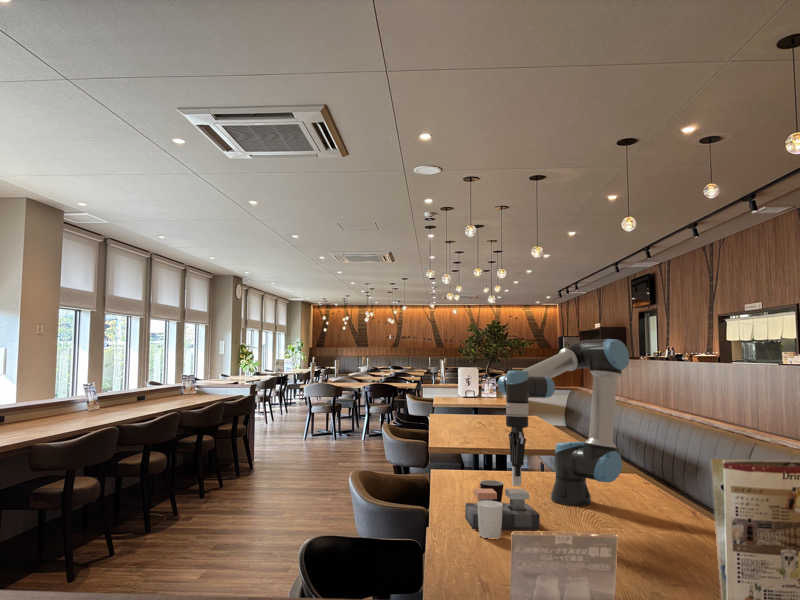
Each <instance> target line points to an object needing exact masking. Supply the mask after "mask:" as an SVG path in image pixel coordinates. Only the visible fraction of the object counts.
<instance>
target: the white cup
mask: <svg viewBox="0 0 800 600" xmlns="http://www.w3.org/2000/svg"><path fill="white" fill-rule="evenodd" d="M476 503H477V504H478V527H479V530H478V536H479V535H480V536H481V537H485V538H499V537H502V530H501V528H502V510H503V504H502V503H503V502H501V503H500V502H496V501H479V502H476ZM480 536H479V537H480ZM481 537H480V538H481ZM499 539H500V538H499Z"/></svg>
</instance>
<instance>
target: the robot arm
mask: <svg viewBox="0 0 800 600" xmlns="http://www.w3.org/2000/svg"><path fill="white" fill-rule="evenodd" d="M629 362H630V354H629V351H628V347H626V344H625V343H624V342H623V341H621V340H620V339H614V338H613V339H611V338H603V339H602V338H601V339H597V338H596V339H584V340H580V341H578V342H575V343H573V344H571V345H568V346H566V347H564V348H562V349H560V350H559V352H558V353H557V354H555V355H552V356H551V357H548V358H546V359H544V360H542V361H539V362H537V363H535V364H533V365H531V366H528V367H527V368H524V369H522V370H508V371H507V372H506V374H504V375H501V376H500V377H499V378H498V380H497V389H498V392H500V393H501V394H502V395H506V396H505V397H506V398H505V399H506V405H504V409H505V408H506V410H505V411H506V412H505V413H506V414H507V415H506V416H505V425H506V427H507V428H508V427H509V428H511V429H510V432H509V433H508V440H509V459H510V460H509V461H510V463H511V470H512V472H511V479H512V480H511V486H512V487H522V466H524V462H525V461H524V460H525V448H526V441H527V438H526V437H525V433H524V429H525V428H526V429H527V428H528V427H529V417H528V415H529V399H534V398H535V399H539V398H540V399H545V398H551V397H552V396H553V395H554V394H555V392H556V389H555V388H556V384H555V382H554V380H553V378H555V377H557V376H560V375H561V374H563V373H565V372H573V371H575V370H578V369H589V373H590V374H591V375H592V377H593V379H592V380H593V381H592V390H591V391H592V393H591V407H590V418H589V419H590V420H589V432H588V433H589V434H588V439H586V440H585V441H566V442H565V441H564V442H558V443H556V445H555V451H554V456H555V457H554V465H555V467H554V468H555V470H554V471H555V481H554V485H553V488H552V491H551V493H550V495H551V496H550V500H551V501H552V502H554V503H557V504H561V505H564V506H565V505H566V506H572V507H573V506H578V507H579V506H580V507H581V506H583V507H584V506H589V505H590V504H592V497H591V493H590V491H589V488H588V484H587V479H589V480H592V481H597V482H598V483H600V482H601V483H603V482H604V483H613V482H614V481H616V480H617V479H618V478H619V477H620V474H621V472H622V469H623V459H622V457H621V454H620V453H618V452H617V446H616V444H615V443H614V441H613V439H614V427H615V426H614V424H615V411H616V410H615V408H616V398H617V397H616V395H617V383H618V382H617V381H618V378H620V377H621V376H622V371H623V370H625V369H626V368H627V367H628V365H629Z"/></svg>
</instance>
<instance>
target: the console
mask: <svg viewBox="0 0 800 600" xmlns="http://www.w3.org/2000/svg"><path fill="white" fill-rule="evenodd" d="M477 503H478V502H465V504H464V505H465V507H464V509H465V511H464V512H465V514H464V515H465V516H464V518H465V520H466V521H467V523H468V524H469V526H470V527H471V529H472V530H473V529H479V527H478V504H477ZM501 503H502V504H503V510H502V528H501V531H540V530H541V527H540V525H541V523H540V522H541V519H540V517H541V516H540V513H539V512H538V511H537V510H535V509H534V508H533V507H532V506H530V504H528V503H527V502H526V503H525V511H513V510H512V509H511V508H510V502H508V503H507V502H505V503H503V502H501Z"/></svg>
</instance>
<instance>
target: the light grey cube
mask: <svg viewBox="0 0 800 600" xmlns="http://www.w3.org/2000/svg"><path fill="white" fill-rule="evenodd" d="M505 496H506V497H507V498H508V499H509V503H510V508H511V509H512V510H513V511H525V502H526V501H525V500H530V493H529V491H527V490H526V489H524V488H505Z"/></svg>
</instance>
